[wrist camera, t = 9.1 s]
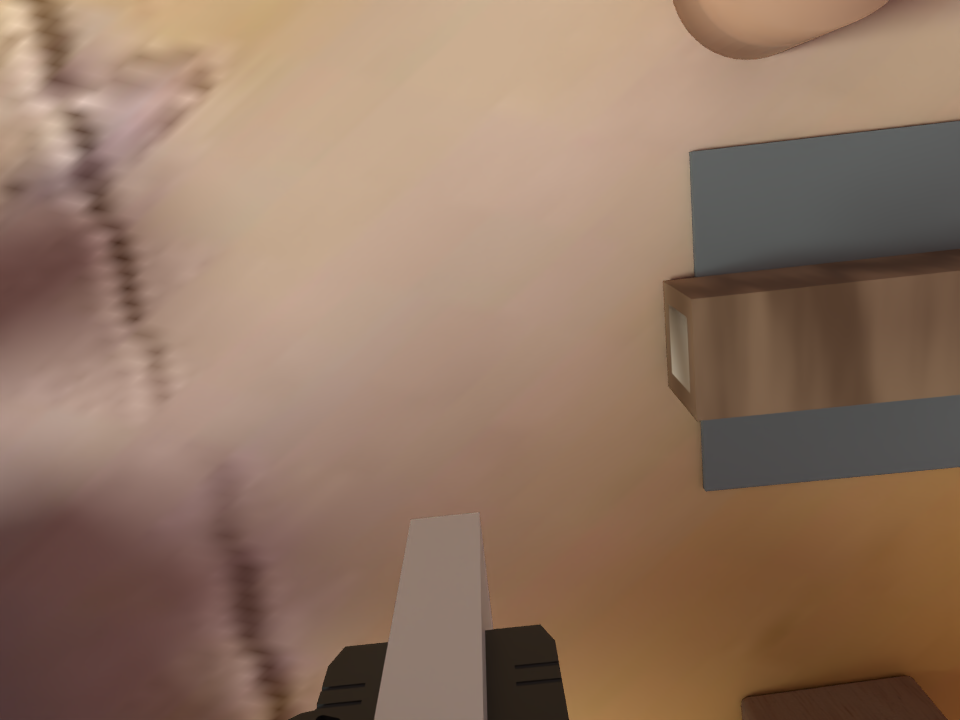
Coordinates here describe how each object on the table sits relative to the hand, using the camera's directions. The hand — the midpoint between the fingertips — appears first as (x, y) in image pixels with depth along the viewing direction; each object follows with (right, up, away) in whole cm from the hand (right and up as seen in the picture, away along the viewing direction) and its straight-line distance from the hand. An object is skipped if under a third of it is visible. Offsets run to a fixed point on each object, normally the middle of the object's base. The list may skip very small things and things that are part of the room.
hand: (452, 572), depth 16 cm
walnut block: (+9, +5, +16) cm, 19 cm away
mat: (+19, +7, +18) cm, 27 cm away
